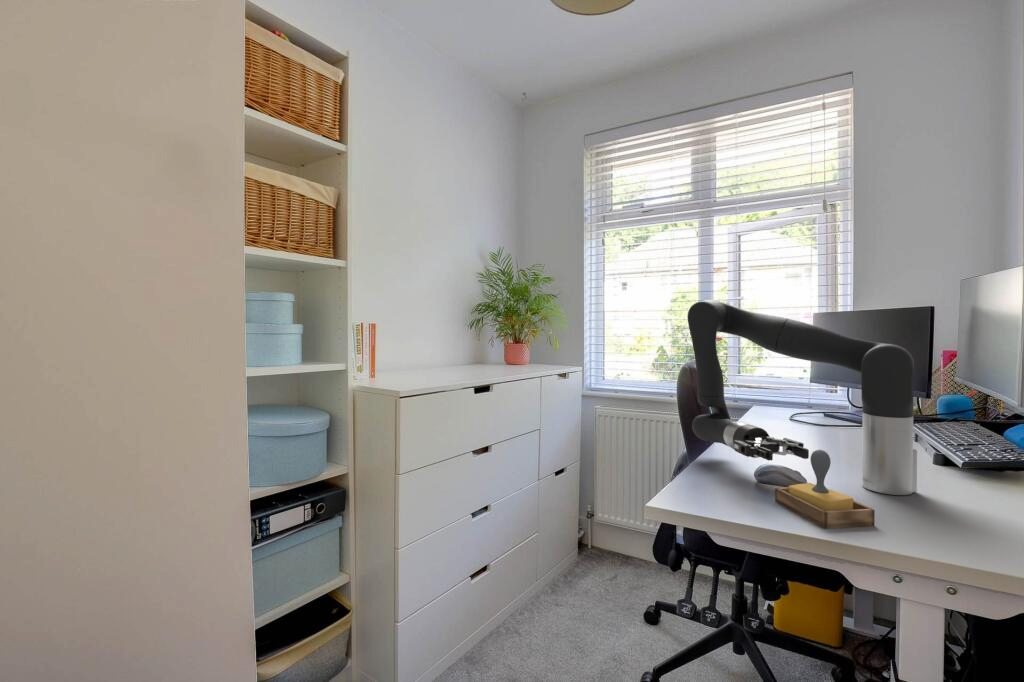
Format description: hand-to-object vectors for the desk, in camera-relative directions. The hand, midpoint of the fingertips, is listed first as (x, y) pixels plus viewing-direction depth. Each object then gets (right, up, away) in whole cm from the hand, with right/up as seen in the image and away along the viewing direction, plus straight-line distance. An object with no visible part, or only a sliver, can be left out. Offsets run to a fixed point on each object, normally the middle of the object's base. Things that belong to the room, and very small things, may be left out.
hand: (789, 455), depth 108 cm
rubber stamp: (+1, -9, -9) cm, 13 cm away
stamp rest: (+1, -9, -9) cm, 13 cm away
